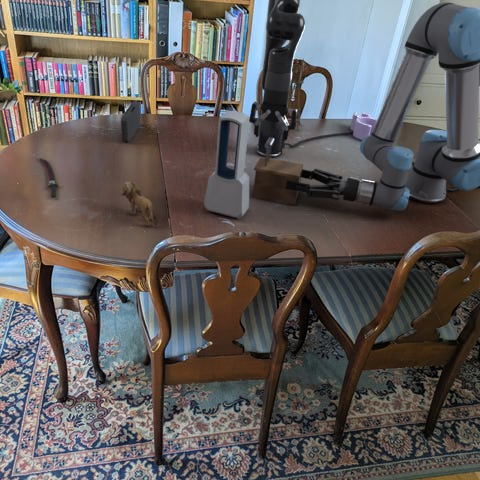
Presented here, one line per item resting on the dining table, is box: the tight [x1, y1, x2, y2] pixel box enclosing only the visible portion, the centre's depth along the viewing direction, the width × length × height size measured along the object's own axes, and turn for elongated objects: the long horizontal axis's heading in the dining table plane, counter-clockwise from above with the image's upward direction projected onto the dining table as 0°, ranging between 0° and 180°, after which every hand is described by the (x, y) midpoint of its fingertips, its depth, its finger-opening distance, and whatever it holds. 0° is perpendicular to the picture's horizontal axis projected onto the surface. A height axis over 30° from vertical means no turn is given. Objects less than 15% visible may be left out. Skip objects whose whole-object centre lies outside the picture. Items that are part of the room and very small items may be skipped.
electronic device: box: [203, 110, 250, 220], centre depth 135 cm, size 12×8×30 cm, turn 71°
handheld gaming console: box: [120, 101, 141, 143], centre depth 188 cm, size 23×3×10 cm, turn 178°
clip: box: [349, 112, 378, 141], centre depth 214 cm, size 20×12×7 cm, turn 11°
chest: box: [252, 168, 304, 206], centre depth 153 cm, size 14×10×10 cm
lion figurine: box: [119, 181, 159, 227], centre depth 134 cm, size 15×5×9 cm, turn 50°
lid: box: [253, 137, 305, 178], centre depth 148 cm, size 14×10×9 cm
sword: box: [40, 158, 59, 198], centre depth 151 cm, size 31×3×1 cm, turn 26°
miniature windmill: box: [285, 58, 305, 131], centre depth 208 cm, size 9×8×30 cm
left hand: (270, 138), depth 146 cm, fingers open, 8 cm apart
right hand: (288, 177), depth 152 cm, fingers closed on chest, 10 cm apart
